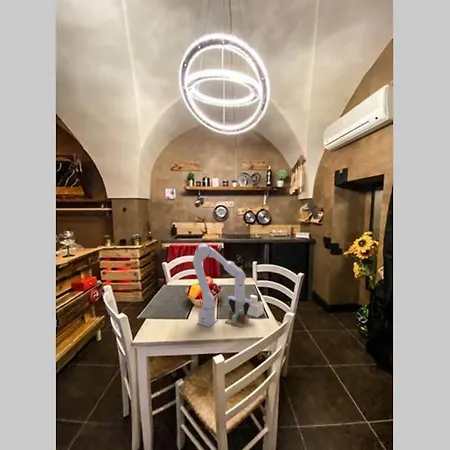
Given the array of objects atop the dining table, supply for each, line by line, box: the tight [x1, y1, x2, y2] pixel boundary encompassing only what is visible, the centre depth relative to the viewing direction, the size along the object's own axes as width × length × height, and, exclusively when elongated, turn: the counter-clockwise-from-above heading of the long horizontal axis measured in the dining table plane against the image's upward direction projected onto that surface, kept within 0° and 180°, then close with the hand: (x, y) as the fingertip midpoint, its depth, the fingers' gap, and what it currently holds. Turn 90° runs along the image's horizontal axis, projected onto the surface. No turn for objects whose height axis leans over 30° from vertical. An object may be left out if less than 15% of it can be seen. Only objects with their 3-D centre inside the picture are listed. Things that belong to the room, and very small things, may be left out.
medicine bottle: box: [247, 293, 264, 318], centre depth 153 cm, size 7×7×12 cm
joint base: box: [224, 310, 250, 328], centre depth 144 cm, size 10×10×5 cm
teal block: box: [232, 309, 244, 324], centre depth 144 cm, size 10×2×4 cm, turn 150°
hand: (239, 314), depth 147 cm, fingers open, 7 cm apart
